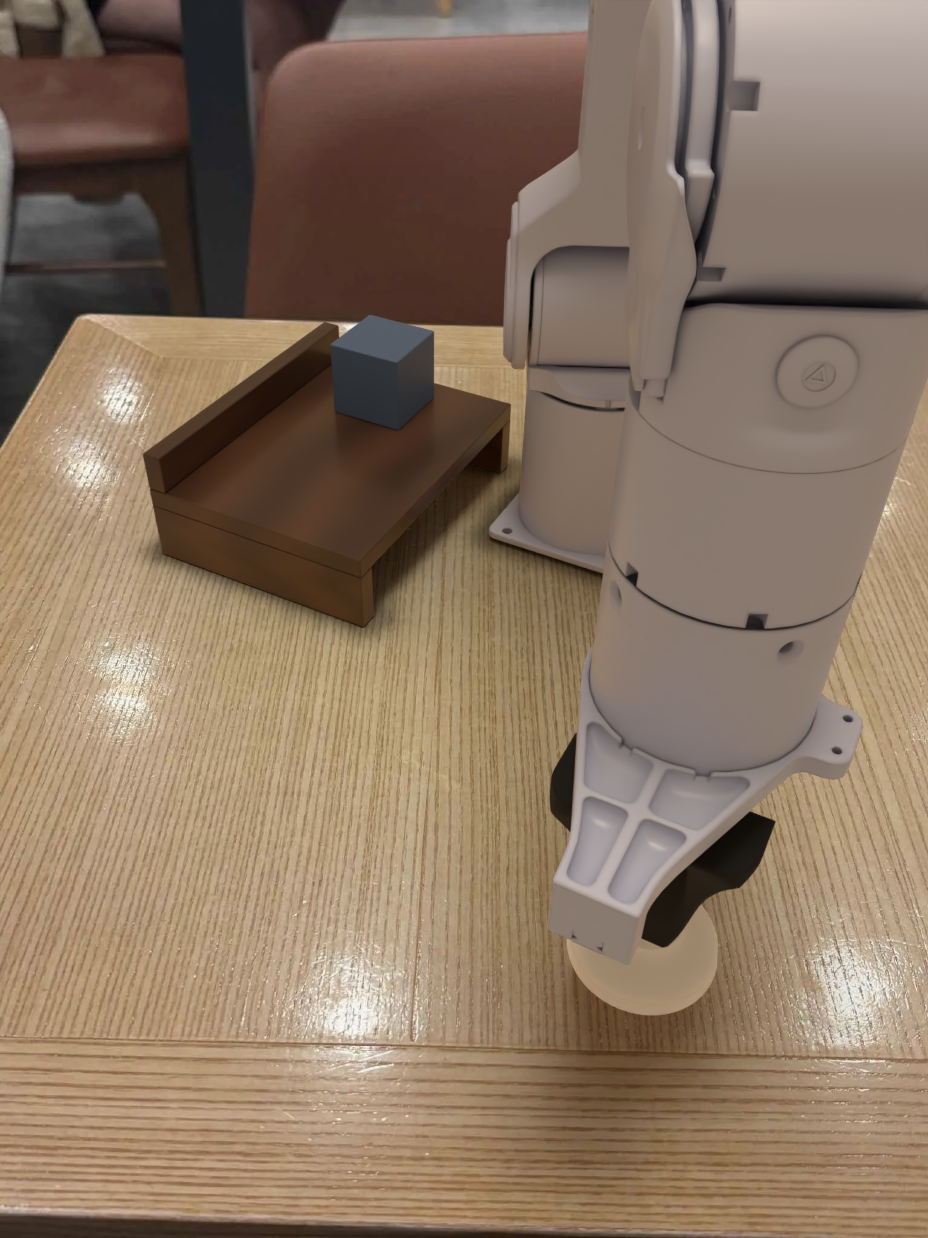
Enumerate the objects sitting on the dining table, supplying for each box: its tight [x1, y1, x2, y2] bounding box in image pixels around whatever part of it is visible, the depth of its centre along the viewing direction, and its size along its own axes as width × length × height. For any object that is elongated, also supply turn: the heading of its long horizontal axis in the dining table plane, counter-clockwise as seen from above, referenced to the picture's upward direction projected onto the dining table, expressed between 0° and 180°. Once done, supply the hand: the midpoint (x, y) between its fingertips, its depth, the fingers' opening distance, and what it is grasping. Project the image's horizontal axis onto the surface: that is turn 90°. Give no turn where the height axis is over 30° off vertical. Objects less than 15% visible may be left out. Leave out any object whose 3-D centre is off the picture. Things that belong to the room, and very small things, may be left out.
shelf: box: [142, 321, 512, 628], centre depth 57 cm, size 12×16×6 cm
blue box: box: [330, 314, 435, 430], centre depth 58 cm, size 4×4×4 cm
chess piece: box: [566, 904, 719, 1016], centre depth 33 cm, size 5×5×10 cm
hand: (653, 895), depth 34 cm, fingers closed on chess piece
